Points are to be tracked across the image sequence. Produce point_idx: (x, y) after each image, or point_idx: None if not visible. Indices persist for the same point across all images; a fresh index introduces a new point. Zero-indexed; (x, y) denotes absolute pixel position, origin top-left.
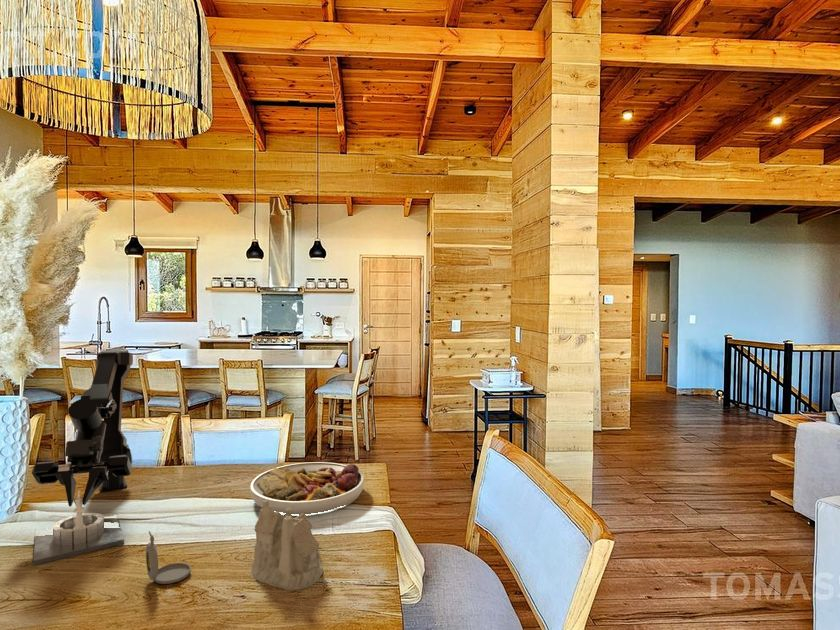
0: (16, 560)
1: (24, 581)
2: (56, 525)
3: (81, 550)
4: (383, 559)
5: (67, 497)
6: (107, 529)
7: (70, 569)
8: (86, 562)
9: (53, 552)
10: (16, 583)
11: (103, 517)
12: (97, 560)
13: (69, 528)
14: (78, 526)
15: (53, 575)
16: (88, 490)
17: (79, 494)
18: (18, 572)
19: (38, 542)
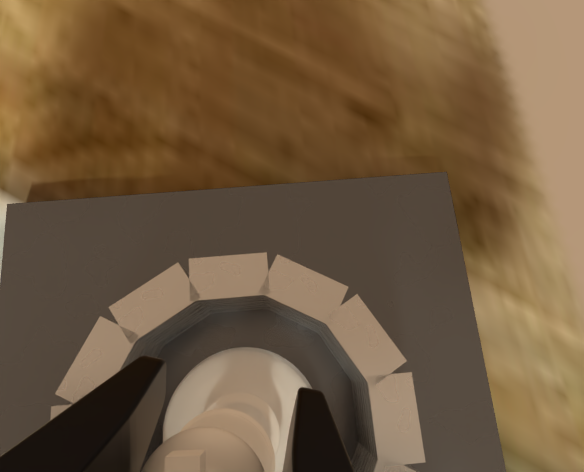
0: (536, 290)
1: (439, 51)
2: (399, 444)
3: (228, 191)
4: None
5: (348, 465)
6: None
7: (271, 65)
8: (208, 98)
9: (365, 223)
10: (467, 49)
11: None
12: (161, 93)
13: None
14: (242, 404)
15: (334, 46)
16: (9, 468)
17: (174, 460)
18: (487, 146)
19: (477, 425)
